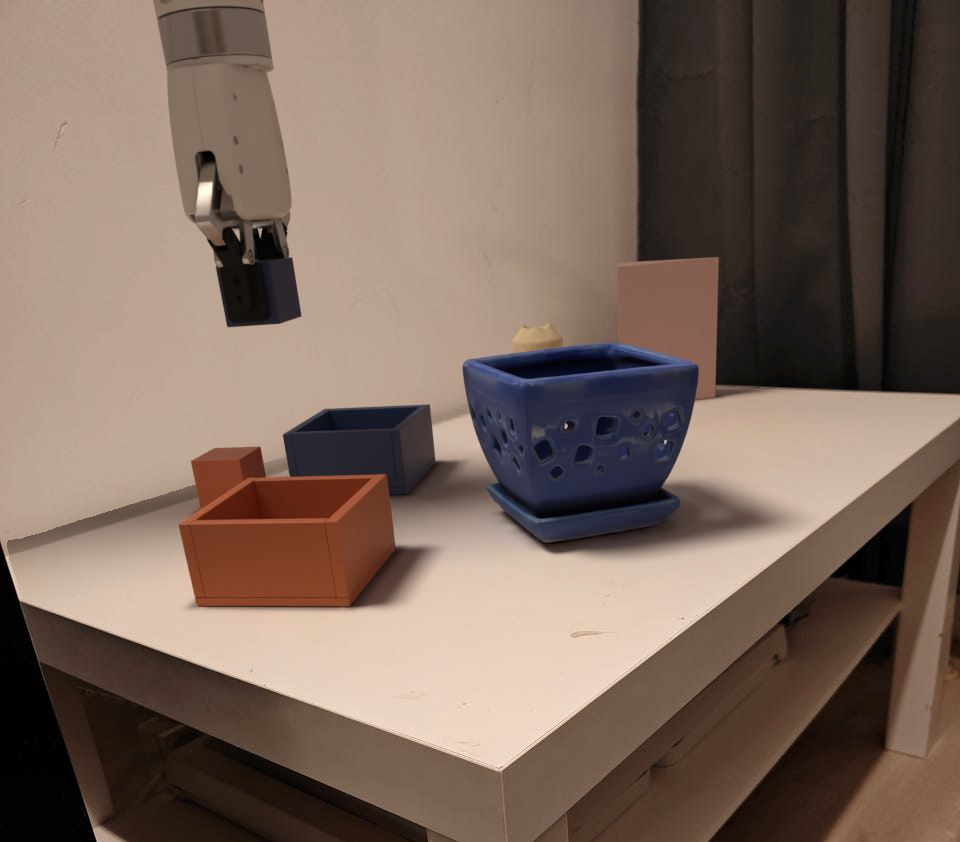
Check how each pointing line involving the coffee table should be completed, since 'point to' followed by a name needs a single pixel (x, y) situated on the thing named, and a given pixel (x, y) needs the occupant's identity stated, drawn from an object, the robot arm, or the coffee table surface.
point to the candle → (536, 339)
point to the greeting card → (672, 311)
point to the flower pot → (582, 435)
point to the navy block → (273, 292)
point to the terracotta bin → (290, 541)
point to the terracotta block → (225, 470)
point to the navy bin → (364, 444)
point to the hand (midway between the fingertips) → (263, 314)
